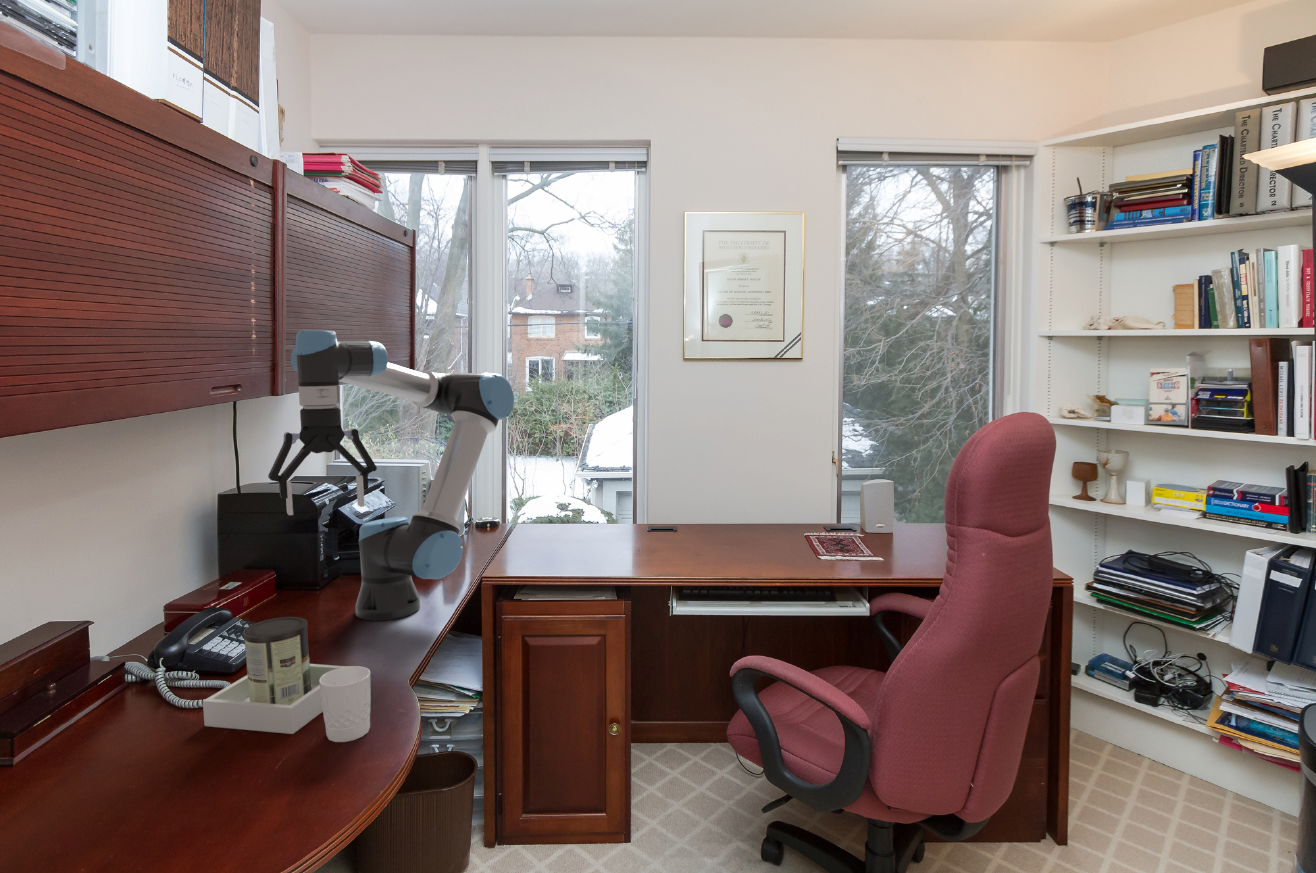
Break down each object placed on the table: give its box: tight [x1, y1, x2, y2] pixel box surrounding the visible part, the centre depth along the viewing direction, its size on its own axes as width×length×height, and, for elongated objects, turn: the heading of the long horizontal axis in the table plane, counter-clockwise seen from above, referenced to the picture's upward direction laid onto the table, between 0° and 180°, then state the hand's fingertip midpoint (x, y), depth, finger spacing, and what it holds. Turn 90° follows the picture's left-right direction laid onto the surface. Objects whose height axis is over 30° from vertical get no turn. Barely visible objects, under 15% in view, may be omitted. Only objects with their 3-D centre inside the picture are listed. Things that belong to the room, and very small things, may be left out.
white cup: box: [319, 665, 372, 743], centre depth 125 cm, size 8×8×10 cm
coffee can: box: [242, 616, 312, 705], centre depth 134 cm, size 10×10×14 cm
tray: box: [202, 663, 349, 735], centre depth 134 cm, size 17×17×4 cm
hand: (326, 509), depth 153 cm, fingers open, 13 cm apart
